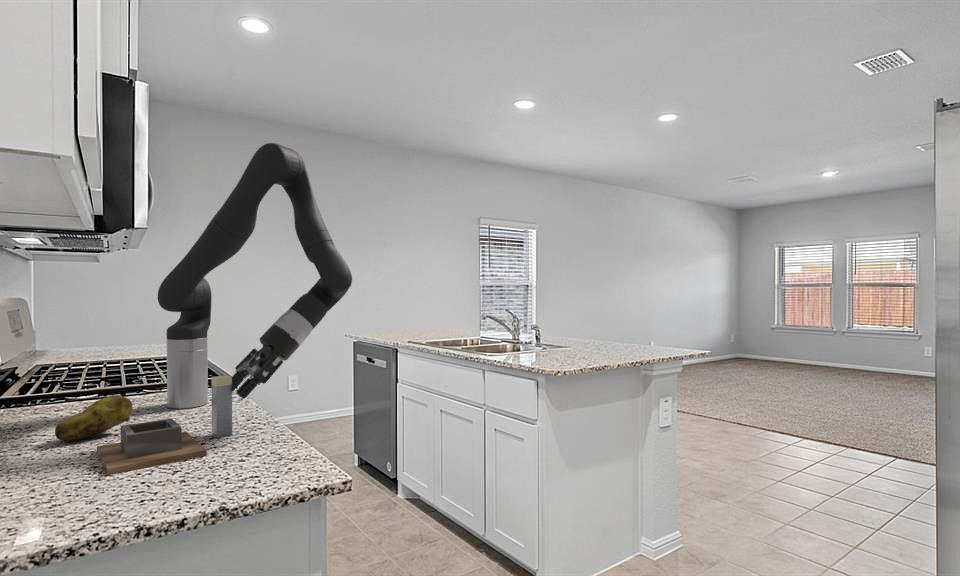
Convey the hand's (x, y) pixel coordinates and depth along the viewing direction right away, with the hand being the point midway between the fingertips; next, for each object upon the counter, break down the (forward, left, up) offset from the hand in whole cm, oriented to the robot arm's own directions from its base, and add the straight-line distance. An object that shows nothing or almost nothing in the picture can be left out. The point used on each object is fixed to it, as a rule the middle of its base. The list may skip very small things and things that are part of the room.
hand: (233, 392), depth 113 cm
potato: (-19, -19, -9) cm, 29 cm away
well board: (+2, -16, -8) cm, 18 cm away
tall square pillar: (0, -2, -8) cm, 9 cm away
